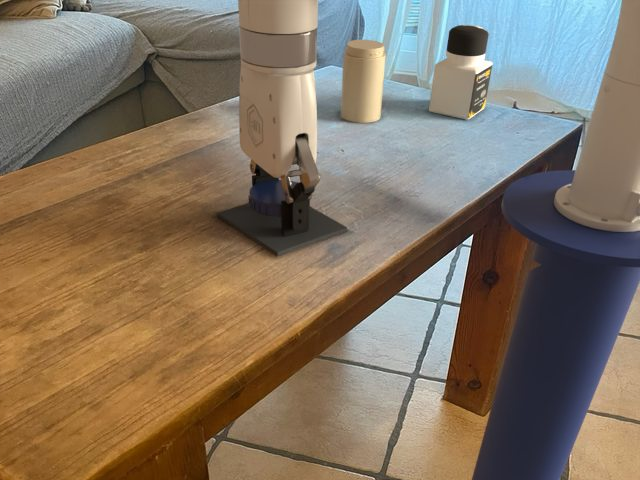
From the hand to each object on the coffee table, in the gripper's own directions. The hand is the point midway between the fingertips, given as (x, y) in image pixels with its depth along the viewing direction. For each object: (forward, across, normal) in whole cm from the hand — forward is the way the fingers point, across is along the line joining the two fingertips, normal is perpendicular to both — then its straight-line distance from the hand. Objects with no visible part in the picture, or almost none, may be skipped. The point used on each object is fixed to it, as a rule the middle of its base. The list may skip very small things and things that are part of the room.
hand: (280, 218), depth 77 cm
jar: (+1, -28, +29) cm, 40 cm away
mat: (+1, 0, 0) cm, 1 cm away
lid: (-3, 0, 0) cm, 3 cm away
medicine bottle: (+1, -24, +45) cm, 51 cm away
